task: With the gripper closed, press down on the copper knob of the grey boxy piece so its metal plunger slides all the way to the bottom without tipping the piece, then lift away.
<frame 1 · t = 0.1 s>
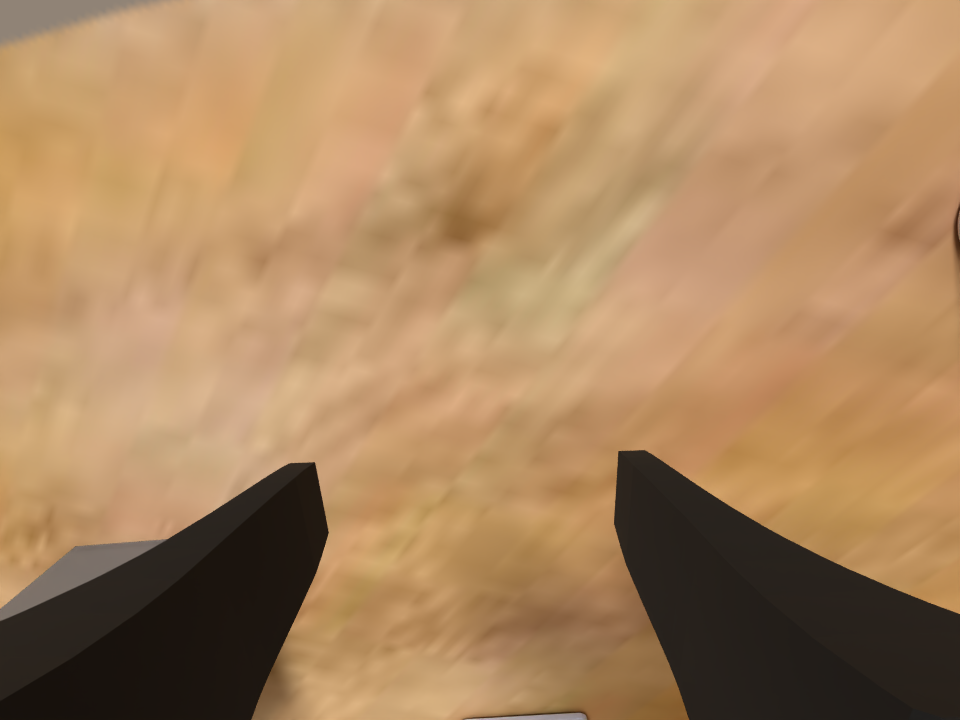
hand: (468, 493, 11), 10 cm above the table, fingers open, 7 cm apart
grey boxy piece: (173, 595, 25), on the table
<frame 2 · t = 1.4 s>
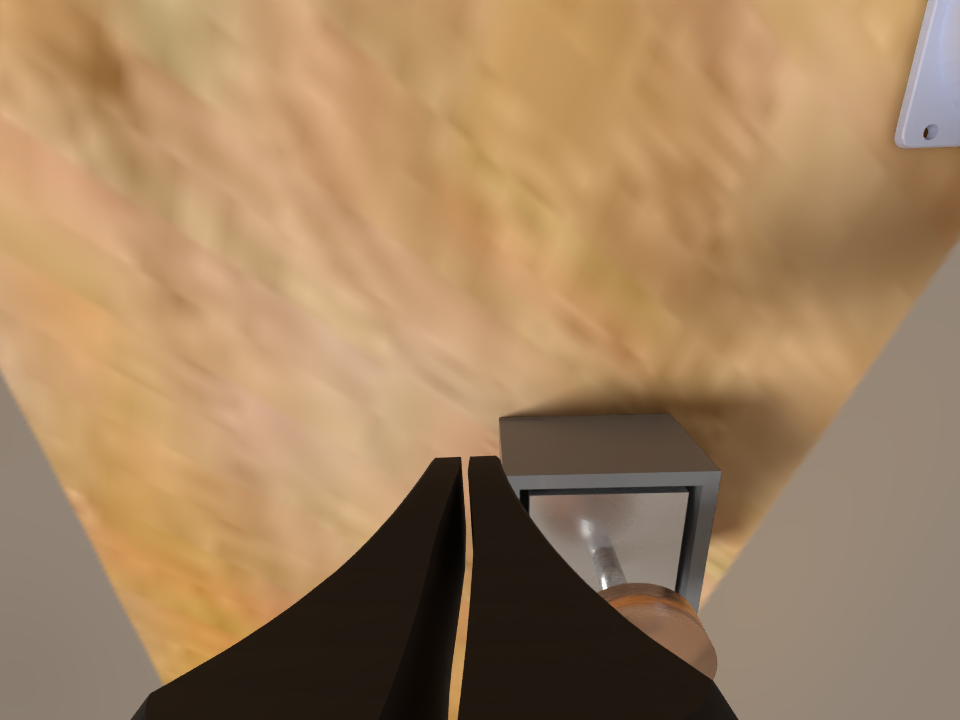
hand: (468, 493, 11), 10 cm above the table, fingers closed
grey boxy piece: (579, 485, 22), on the table
plunger: (618, 599, 16), point 7 cm above the table, slide at 0.0 cm
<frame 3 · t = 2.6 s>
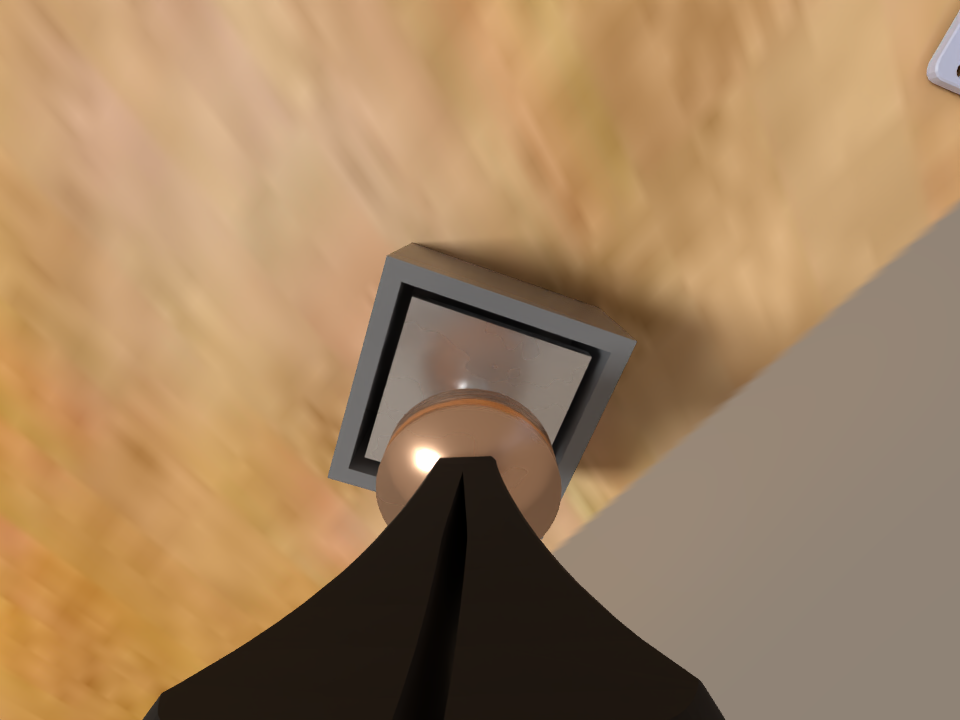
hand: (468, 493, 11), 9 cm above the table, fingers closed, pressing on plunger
grey boxy piece: (475, 362, 19), on the table
plunger: (471, 439, 13), point 6 cm above the table, slide at 0.2 cm, touching gripper
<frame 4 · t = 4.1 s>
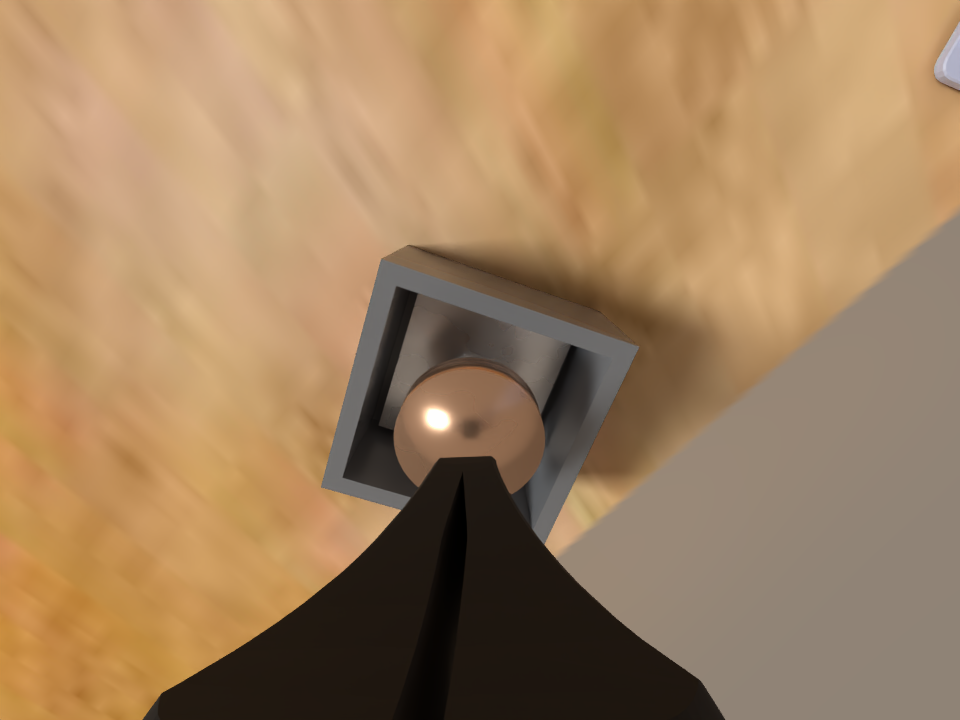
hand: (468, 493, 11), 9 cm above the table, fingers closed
grey boxy piece: (473, 367, 19), on the table
plunger: (471, 404, 15), point 3 cm above the table, slide at 3.1 cm
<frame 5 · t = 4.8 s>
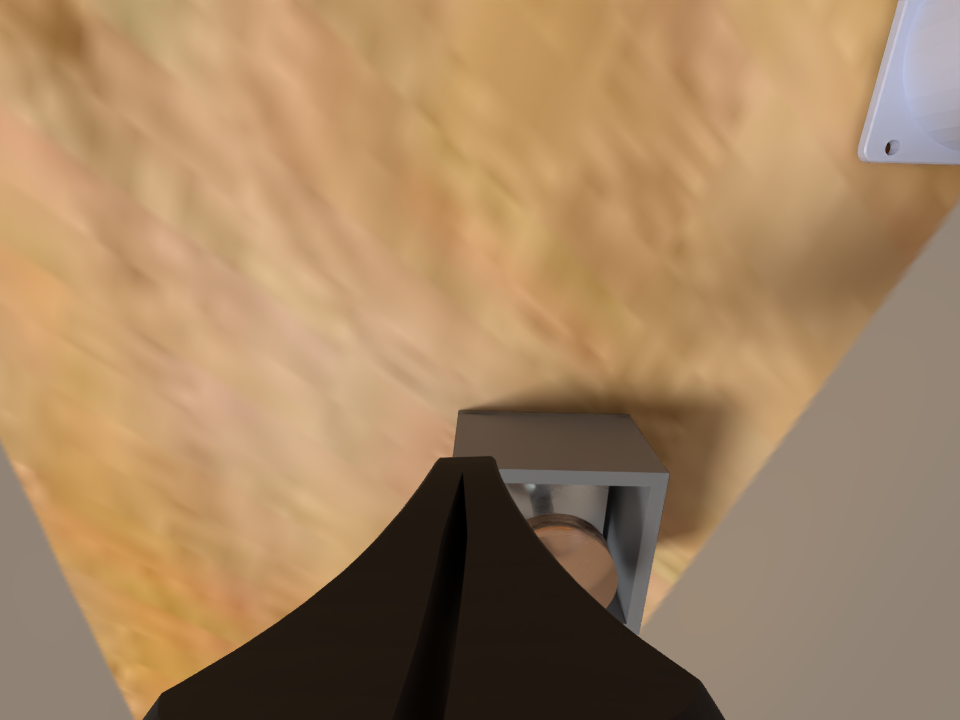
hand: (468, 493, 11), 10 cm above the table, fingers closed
grey boxy piece: (537, 482, 22), on the table
plunger: (547, 534, 19), point 3 cm above the table, slide at 3.1 cm
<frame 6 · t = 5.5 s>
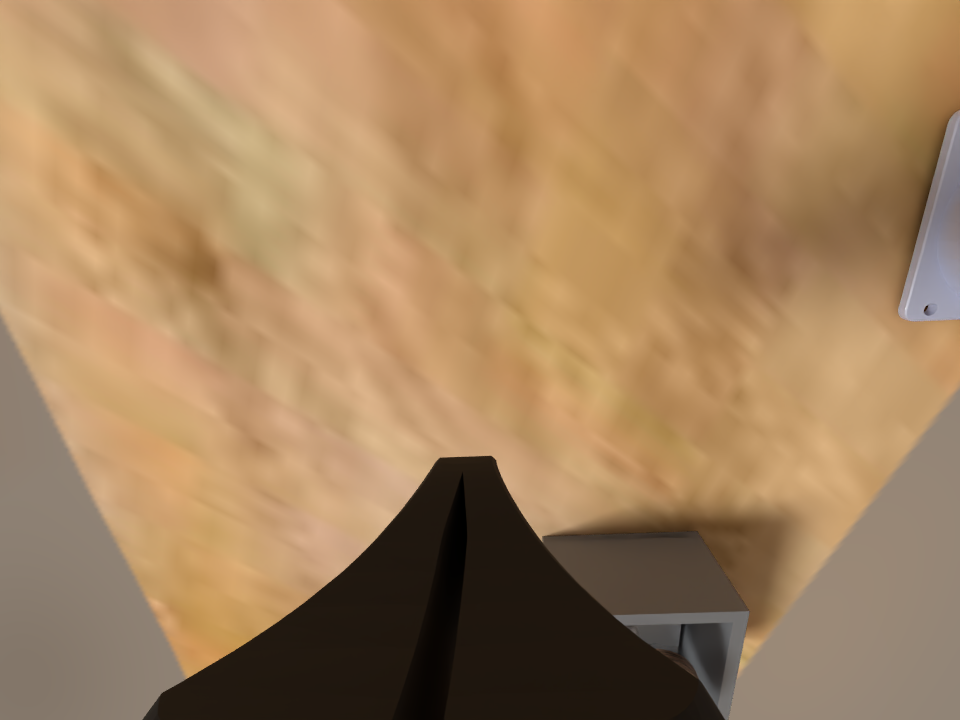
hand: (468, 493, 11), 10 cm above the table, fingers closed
grey boxy piece: (614, 590, 25), on the table
plunger: (636, 654, 21), point 3 cm above the table, slide at 3.1 cm
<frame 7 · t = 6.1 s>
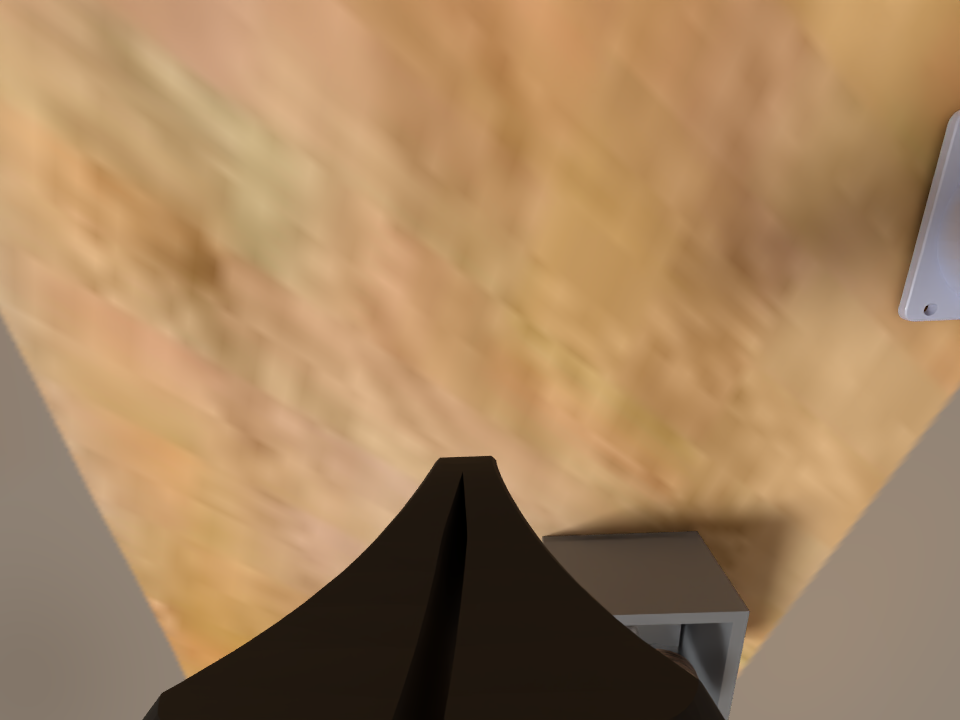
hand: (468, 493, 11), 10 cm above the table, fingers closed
grey boxy piece: (614, 590, 25), on the table
plunger: (636, 654, 21), point 3 cm above the table, slide at 3.1 cm
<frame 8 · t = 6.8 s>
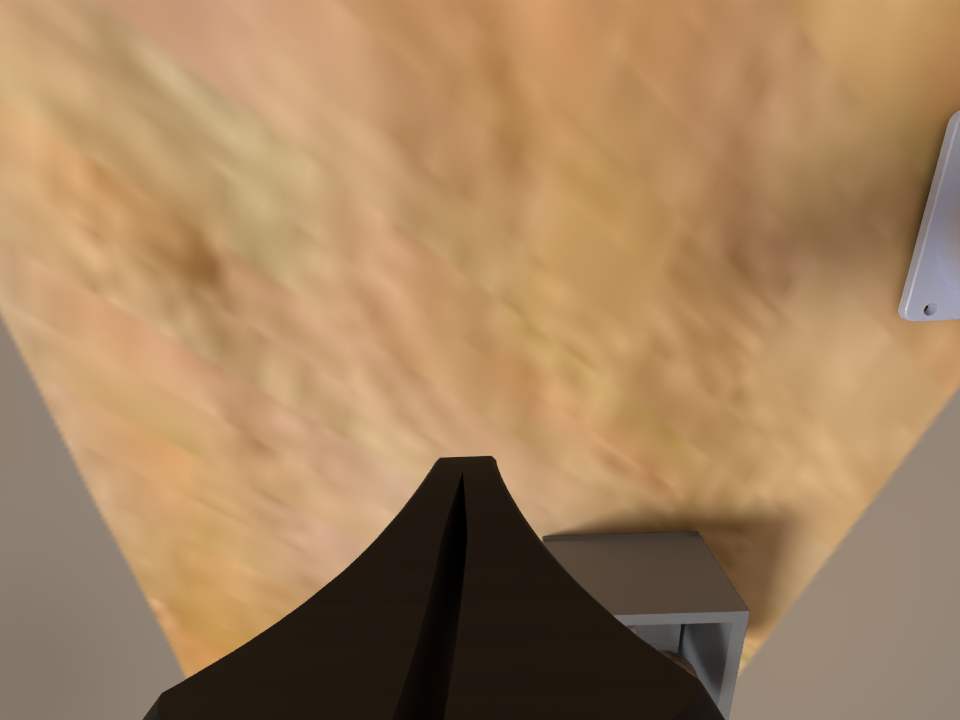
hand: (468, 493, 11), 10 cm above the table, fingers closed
grey boxy piece: (614, 590, 25), on the table
plunger: (636, 654, 21), point 3 cm above the table, slide at 3.1 cm
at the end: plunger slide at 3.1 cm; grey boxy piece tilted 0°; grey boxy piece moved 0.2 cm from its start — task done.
